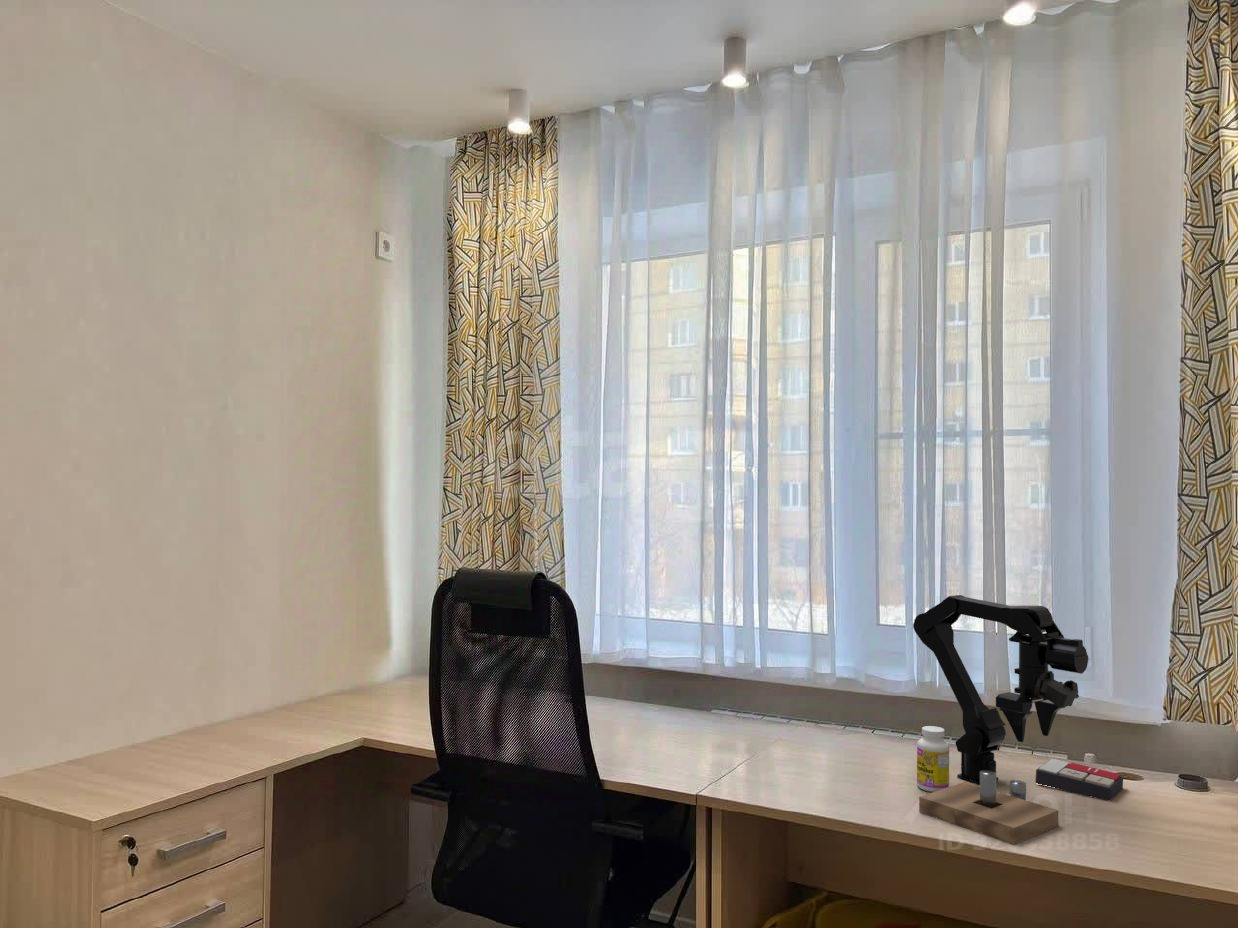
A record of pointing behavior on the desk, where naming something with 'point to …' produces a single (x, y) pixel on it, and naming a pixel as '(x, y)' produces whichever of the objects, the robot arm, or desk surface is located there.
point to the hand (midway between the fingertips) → (1033, 738)
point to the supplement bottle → (932, 760)
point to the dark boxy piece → (1080, 779)
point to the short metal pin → (1018, 789)
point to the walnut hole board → (989, 813)
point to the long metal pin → (988, 789)
